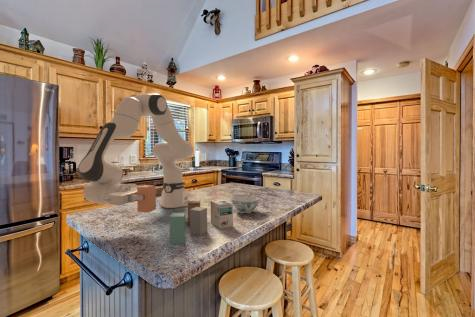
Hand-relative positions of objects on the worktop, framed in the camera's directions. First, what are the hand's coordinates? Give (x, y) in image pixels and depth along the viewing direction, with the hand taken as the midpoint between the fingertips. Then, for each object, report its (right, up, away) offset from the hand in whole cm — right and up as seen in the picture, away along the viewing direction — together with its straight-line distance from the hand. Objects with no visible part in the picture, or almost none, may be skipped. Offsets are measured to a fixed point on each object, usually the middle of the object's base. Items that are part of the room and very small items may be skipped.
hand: (148, 195), depth 95 cm
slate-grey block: (+20, -15, +2) cm, 25 cm away
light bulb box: (+29, -15, +12) cm, 35 cm away
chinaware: (+40, -14, +33) cm, 54 cm away
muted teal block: (+14, -16, -7) cm, 22 cm away
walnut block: (+16, -15, +14) cm, 26 cm away
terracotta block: (-1, -6, +1) cm, 6 cm away
